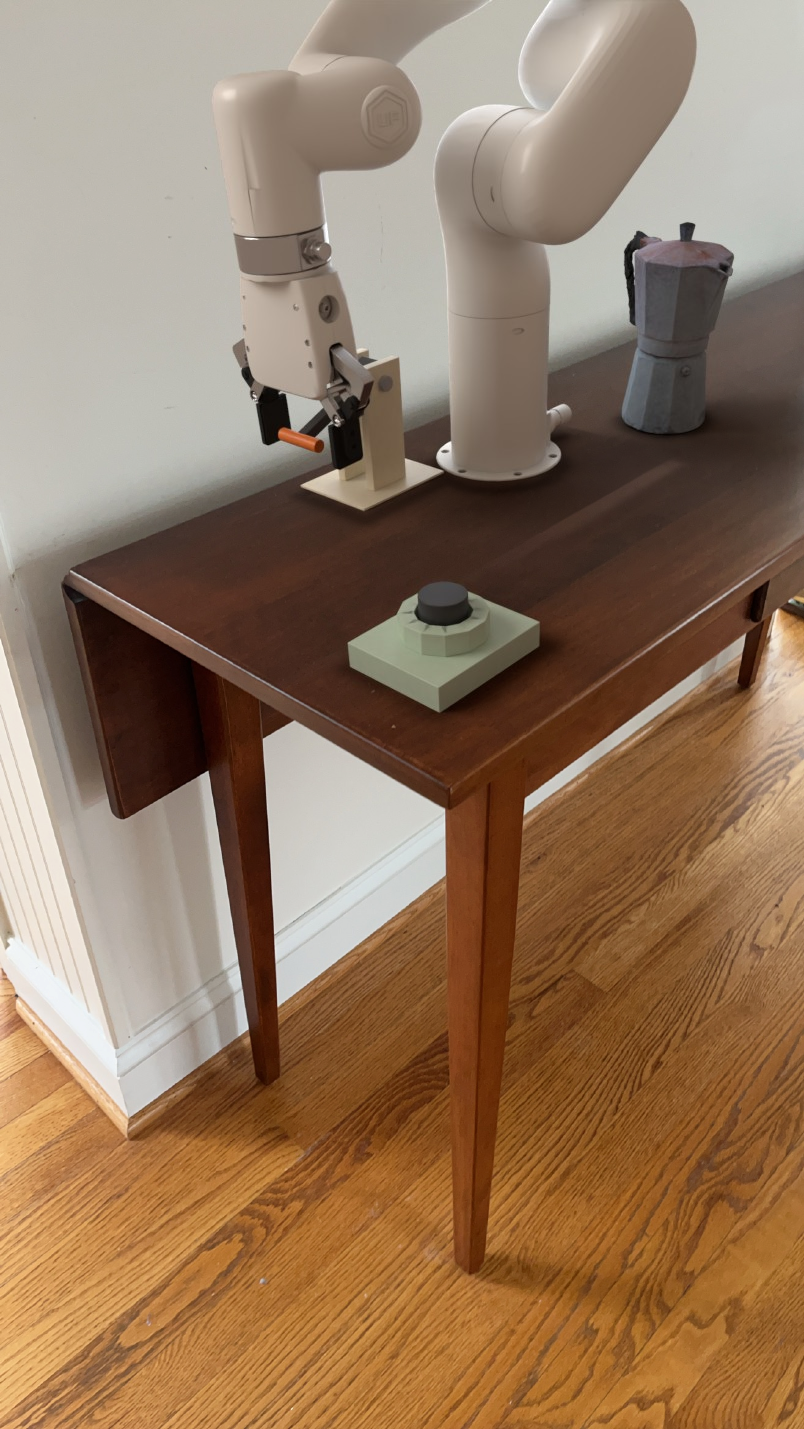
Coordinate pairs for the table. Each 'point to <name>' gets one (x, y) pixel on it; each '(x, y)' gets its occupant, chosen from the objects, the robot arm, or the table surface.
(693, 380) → the moka pot
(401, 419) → the pivot handle stand
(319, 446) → the orange grip lever
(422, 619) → the socket button
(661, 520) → the table surface
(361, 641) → the socket block
